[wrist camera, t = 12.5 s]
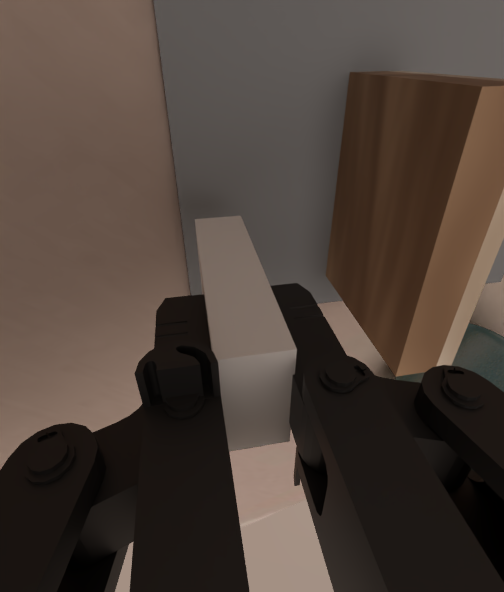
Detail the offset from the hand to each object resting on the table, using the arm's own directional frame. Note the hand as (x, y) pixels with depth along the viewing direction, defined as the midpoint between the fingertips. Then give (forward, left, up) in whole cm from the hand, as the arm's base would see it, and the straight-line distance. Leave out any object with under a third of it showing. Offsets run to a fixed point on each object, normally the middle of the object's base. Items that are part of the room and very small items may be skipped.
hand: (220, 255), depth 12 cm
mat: (+9, +1, -7) cm, 11 cm away
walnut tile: (+8, 0, -6) cm, 10 cm away
